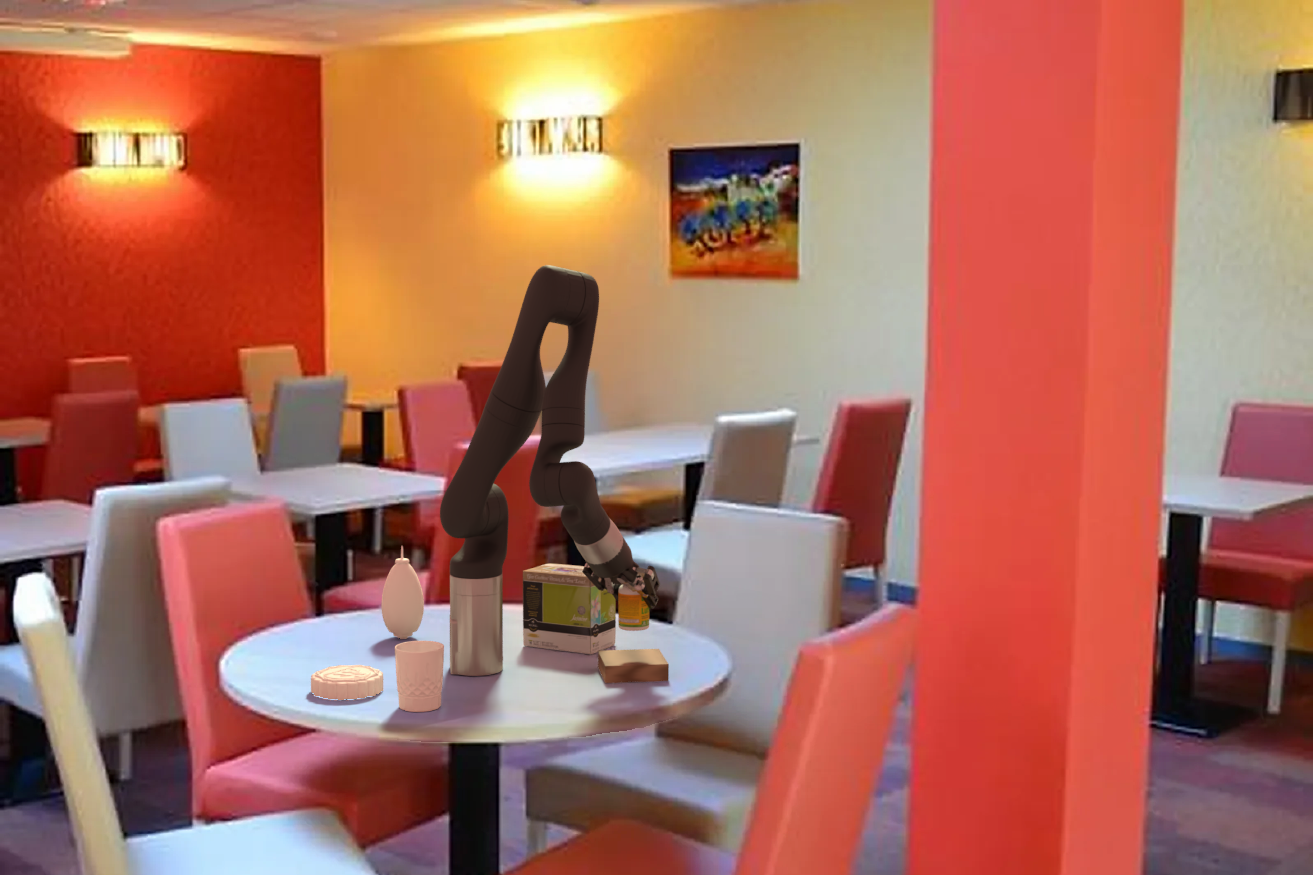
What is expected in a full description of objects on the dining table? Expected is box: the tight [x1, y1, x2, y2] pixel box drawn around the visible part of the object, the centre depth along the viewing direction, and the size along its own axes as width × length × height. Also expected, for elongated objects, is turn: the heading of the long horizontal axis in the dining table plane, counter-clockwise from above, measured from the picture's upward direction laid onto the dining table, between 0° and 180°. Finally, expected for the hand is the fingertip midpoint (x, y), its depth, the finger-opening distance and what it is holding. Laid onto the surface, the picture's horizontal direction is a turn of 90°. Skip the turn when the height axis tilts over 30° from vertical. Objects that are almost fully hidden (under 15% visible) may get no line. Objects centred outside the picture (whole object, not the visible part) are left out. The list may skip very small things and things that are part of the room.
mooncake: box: [310, 664, 384, 700], centre depth 265 cm, size 12×12×4 cm
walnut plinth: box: [597, 648, 670, 684], centre depth 278 cm, size 11×11×3 cm
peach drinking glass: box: [394, 640, 445, 713], centre depth 256 cm, size 8×8×10 cm
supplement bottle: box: [617, 577, 650, 632], centre depth 276 cm, size 5×5×10 cm
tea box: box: [522, 562, 617, 655], centre depth 297 cm, size 15×10×15 cm, turn 62°
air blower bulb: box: [380, 545, 425, 640], centre depth 302 cm, size 8×8×18 cm
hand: (639, 602), depth 278 cm, fingers closed on supplement bottle, 5 cm apart
